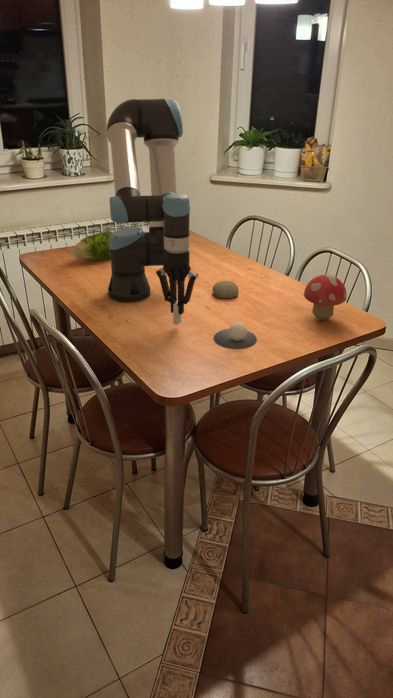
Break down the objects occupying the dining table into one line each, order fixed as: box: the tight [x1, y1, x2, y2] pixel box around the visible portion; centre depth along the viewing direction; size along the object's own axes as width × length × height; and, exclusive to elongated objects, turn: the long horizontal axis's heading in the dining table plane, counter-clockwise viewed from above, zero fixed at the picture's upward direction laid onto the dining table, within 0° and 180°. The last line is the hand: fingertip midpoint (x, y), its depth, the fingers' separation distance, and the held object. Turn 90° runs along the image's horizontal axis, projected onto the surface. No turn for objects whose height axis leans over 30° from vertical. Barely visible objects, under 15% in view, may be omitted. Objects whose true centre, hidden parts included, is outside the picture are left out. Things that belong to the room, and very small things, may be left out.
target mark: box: [213, 328, 258, 350], centre depth 160 cm, size 13×13×1 cm
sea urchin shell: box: [212, 280, 239, 299], centre depth 190 cm, size 9×8×8 cm
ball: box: [228, 322, 248, 341], centre depth 158 cm, size 6×6×6 cm
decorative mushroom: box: [303, 274, 347, 321], centre depth 169 cm, size 13×13×15 cm
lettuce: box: [72, 230, 114, 262], centre depth 220 cm, size 12×21×11 cm, turn 129°
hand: (177, 322), depth 165 cm, fingers closed
